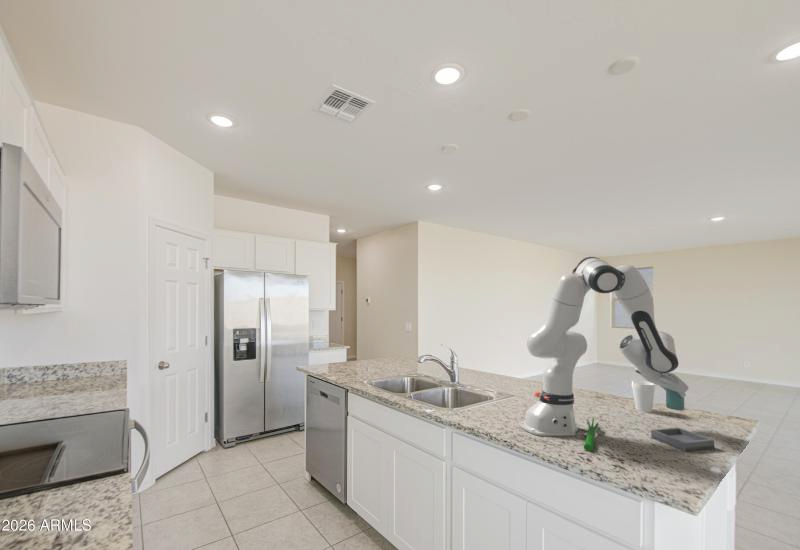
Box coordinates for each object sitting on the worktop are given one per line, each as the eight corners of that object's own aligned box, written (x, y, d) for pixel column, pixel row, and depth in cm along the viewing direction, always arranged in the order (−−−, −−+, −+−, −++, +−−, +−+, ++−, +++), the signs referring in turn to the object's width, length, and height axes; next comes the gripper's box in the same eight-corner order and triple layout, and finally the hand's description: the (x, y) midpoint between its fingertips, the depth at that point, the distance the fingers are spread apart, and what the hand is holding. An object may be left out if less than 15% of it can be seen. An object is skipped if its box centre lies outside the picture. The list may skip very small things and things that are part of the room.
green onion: (595, 455, 125) (599, 424, 150) (594, 445, 125) (599, 416, 150) (579, 451, 127) (586, 422, 153) (578, 442, 127) (586, 414, 153)
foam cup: (659, 414, 167) (658, 385, 168) (637, 412, 169) (636, 384, 170) (650, 408, 177) (649, 381, 178) (629, 406, 179) (628, 380, 179)
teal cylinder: (676, 410, 145) (676, 383, 146) (662, 406, 151) (662, 379, 152) (688, 409, 147) (687, 382, 147) (673, 405, 153) (673, 378, 153)
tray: (685, 451, 126) (685, 443, 126) (651, 437, 138) (651, 429, 138) (714, 448, 129) (714, 440, 129) (678, 435, 141) (678, 427, 142)
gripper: (677, 369, 140) (702, 395, 139) (641, 359, 160) (663, 381, 160) (665, 380, 139) (691, 406, 139) (631, 369, 160) (653, 392, 159)
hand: (676, 393), depth 149 cm, fingers closed on teal cylinder, 6 cm apart
